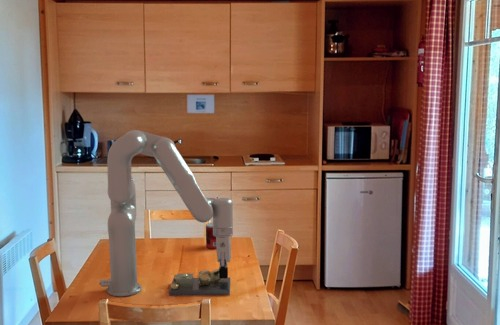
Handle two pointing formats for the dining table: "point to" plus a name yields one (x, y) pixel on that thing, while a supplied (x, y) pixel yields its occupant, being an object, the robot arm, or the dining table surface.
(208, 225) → the canned food
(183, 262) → the dining table surface
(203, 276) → the lever handle
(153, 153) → the robot arm
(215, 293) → the plate
